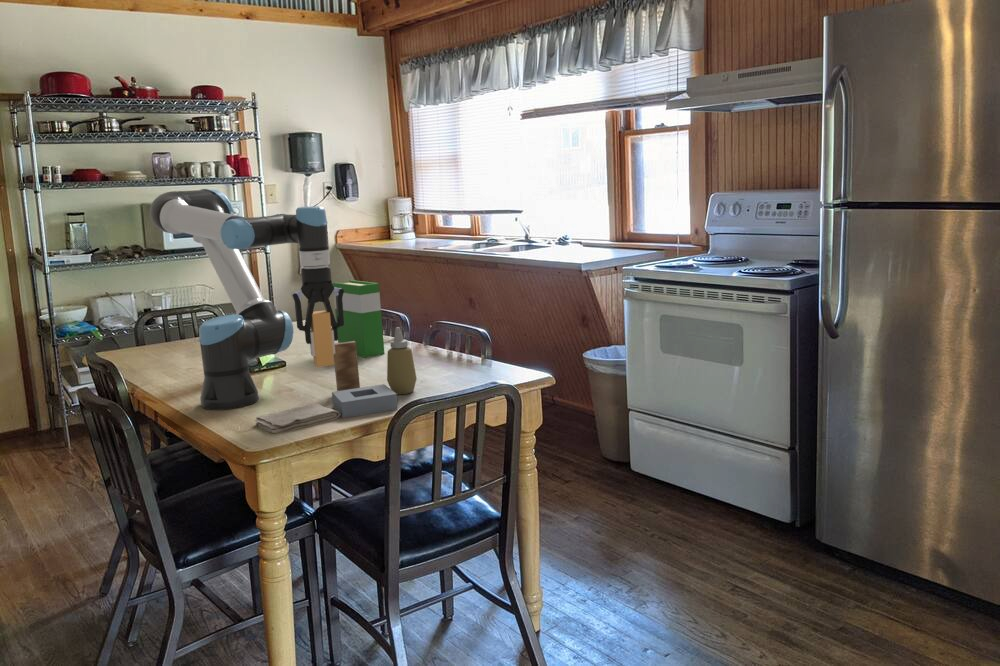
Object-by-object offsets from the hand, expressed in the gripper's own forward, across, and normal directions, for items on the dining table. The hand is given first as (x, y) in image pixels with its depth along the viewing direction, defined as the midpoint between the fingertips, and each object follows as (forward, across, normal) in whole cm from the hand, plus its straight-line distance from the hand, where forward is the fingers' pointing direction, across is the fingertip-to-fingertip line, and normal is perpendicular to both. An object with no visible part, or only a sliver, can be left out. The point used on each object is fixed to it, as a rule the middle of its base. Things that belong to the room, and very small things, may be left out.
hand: (323, 354), depth 223 cm
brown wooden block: (+13, +7, +6) cm, 16 cm away
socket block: (+13, +7, -12) cm, 19 cm away
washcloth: (+14, -10, -15) cm, 23 cm away
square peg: (+3, 0, 0) cm, 3 cm away
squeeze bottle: (+13, +20, -3) cm, 24 cm away
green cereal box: (+14, +23, +58) cm, 64 cm away
